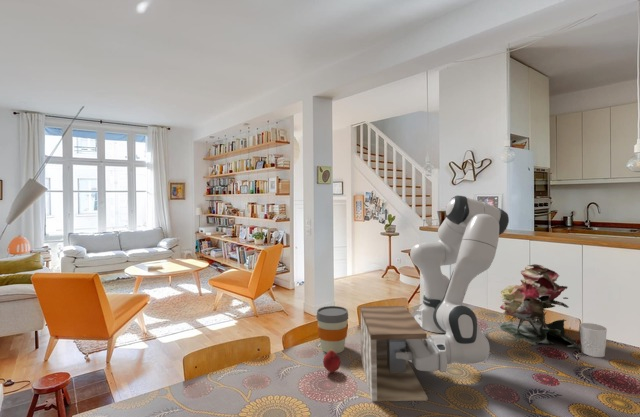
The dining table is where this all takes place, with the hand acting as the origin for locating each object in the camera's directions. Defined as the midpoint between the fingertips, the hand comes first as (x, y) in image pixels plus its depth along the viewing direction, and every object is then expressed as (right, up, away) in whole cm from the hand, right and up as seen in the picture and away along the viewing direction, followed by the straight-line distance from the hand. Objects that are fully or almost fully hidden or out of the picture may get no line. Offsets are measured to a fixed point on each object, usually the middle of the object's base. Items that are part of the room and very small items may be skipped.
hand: (393, 350), depth 110 cm
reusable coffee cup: (-18, -10, +25) cm, 33 cm away
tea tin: (+1, -6, 0) cm, 6 cm away
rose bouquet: (+67, -8, +36) cm, 77 cm away
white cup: (+78, -8, +17) cm, 80 cm away
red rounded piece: (-19, -10, +6) cm, 23 cm away
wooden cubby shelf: (0, -10, +2) cm, 10 cm away
